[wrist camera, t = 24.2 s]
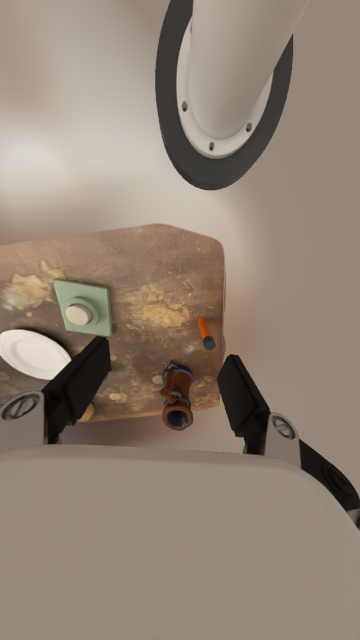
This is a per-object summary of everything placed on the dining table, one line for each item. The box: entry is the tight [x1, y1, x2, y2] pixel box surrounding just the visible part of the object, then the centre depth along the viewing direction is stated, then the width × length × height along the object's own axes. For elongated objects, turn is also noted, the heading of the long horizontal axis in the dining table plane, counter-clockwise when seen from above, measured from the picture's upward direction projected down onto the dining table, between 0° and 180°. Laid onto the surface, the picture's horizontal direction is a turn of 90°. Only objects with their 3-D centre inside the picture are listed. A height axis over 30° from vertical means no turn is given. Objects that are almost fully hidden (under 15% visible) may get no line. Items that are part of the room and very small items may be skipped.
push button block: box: [53, 279, 113, 336], centre depth 33 cm, size 14×12×3 cm
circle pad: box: [66, 304, 92, 325], centre depth 31 cm, size 5×5×2 cm
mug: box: [159, 360, 193, 431], centre depth 39 cm, size 18×12×15 cm, turn 14°
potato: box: [77, 403, 94, 422], centre depth 51 cm, size 7×11×6 cm, turn 9°
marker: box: [198, 318, 215, 350], centre depth 31 cm, size 2×2×11 cm
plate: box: [0, 329, 72, 380], centre depth 40 cm, size 21×21×2 cm
